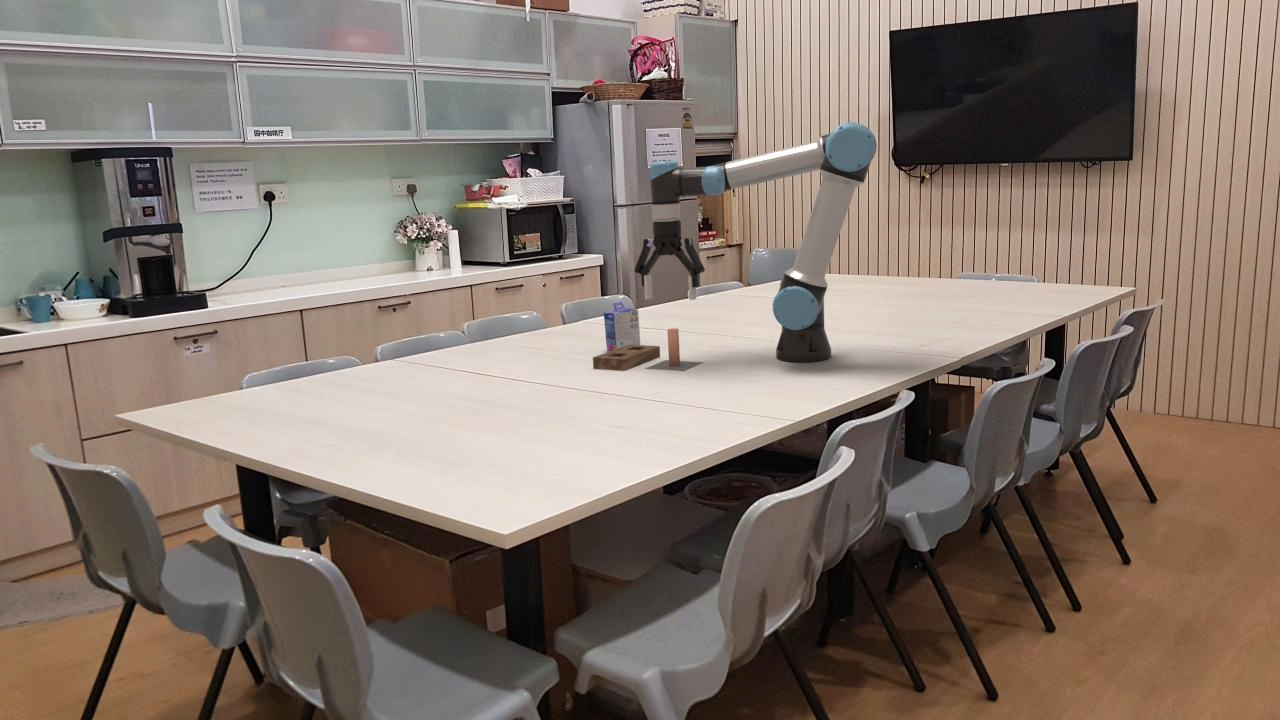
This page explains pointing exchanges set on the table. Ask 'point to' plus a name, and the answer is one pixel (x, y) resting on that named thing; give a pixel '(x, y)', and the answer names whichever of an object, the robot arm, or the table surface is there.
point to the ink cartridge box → (621, 327)
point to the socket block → (626, 357)
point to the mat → (683, 366)
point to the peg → (673, 347)
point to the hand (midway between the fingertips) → (670, 299)
